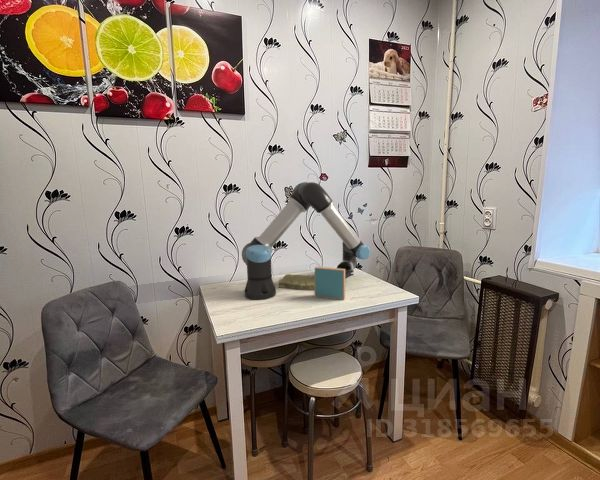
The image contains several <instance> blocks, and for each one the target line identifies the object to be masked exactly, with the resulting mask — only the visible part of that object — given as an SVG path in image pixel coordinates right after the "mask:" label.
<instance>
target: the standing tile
mask: <svg viewBox="0 0 600 480" xmlns="http://www.w3.org/2000/svg"><path fill="white" fill-rule="evenodd" d="M314 276H315V290H314V297H315V298H324V299H333V300H341V301H345V299H346V279H345V269H339V268H337V267H327V266H315V267H314Z"/></svg>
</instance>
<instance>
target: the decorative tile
mask: <svg viewBox="0 0 600 480" xmlns="http://www.w3.org/2000/svg"><path fill="white" fill-rule="evenodd" d="M278 289H289V290H299V291H315V275H312V274H311V275H310V274H307V275H306V274H291V273H289V274H288V273H287V274H285V275H284V276H283V277H282V278H281V279H280V281H279V283H278Z"/></svg>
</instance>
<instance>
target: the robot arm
mask: <svg viewBox="0 0 600 480" xmlns="http://www.w3.org/2000/svg"><path fill="white" fill-rule="evenodd" d="M333 202H334V201H333V199H332V198H331V197H330V195H329V194H328V192H326V190H325V189H324V188H323V187H322V185H320V184H319V183H318V182H314V181H313V182H307V181H305V182H300V183H298V184H296V185H295V187H294V188H293V191H292V193H291V194H290V195H289V197H288V201H287V204H285V206H284V207H283V208H282V209H281V211H280V212H279V213H278V214H277V215H276V217H274V219H273V220H272V221H271V222H270V223H269V225H268V226H267V227H266V228H265V229H264V231H263V232H262V233H260V235H259V236H255V237H253V239H252V240H251V241H250V242H249V243H246V244H245V245H244V247H243V248H242V250H241V258H242V259H241V260H242V261H243V262H244V263H245V265H246V271H247V272H246V274H247V275H246V276H247V279H246V284H245V288H244V297H245V298H246V299H249V300H257V301H260V300H267V299H271V298H273V297H275V296H276V295H277V289H276V286H275V282H274V281H273V274H272V272H273V271H272V252H273V247H274V246H275V244H276V243H277V242H278V241H279V240H280V239H281V237H282V236H283V235H284V234H285V233H286V231H287V230H288V229H289V228H290V227H291V226H292V224H293V223H294V222H295V221H296V220H297V218H298V217H299V216H301V214H302V213H306V212H307V211H308V210H309V209H310V207H311V208H312V209H314V211H316V213H317V214H320V215H321V216H322V217H323V218H324V220H325V221H326V222H327V224H328V225H329V226H330V227H331V228H332V229H333V230H334V233H336V235H337V236H338V237H339V239H341V241H342V243H341V244H342V261H341V262H340V263H339V264H338V265H337V266H336V268H339V269H345V280H346V279H348V278H350V277H352V276H354V274H355V273H354V272H355V270H354V269H356V267H357V265H358V259H359V260H361V261H362V260H363V261H364V260H367V259H368V258H369V257H370V256H371V254H372V253H371V249H370V247H369V246H368V245H366V244H364V242H363V241H362V240H361V239H360V238H359V237H358V234H357V233H355V231H354V230H353V229H352V227H351V225H350V224H349V223H348V222H347V221H346V220H345V218H344V217H343V215H342V214H341V213H340V212H339V210H338V209H337V208H336V207H335V205H334V204H333Z"/></svg>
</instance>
